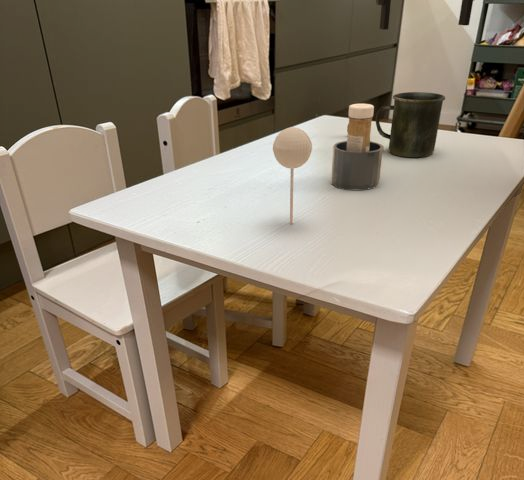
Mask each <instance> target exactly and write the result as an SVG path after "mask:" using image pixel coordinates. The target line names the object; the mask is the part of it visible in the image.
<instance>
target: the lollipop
mask: <svg viewBox="0 0 524 480" xmlns="http://www.w3.org/2000/svg"><path fill="white" fill-rule="evenodd" d="M312 151H313V143H312V140H311V138H310V136H309V135H308V134H307V132H305V130H303V129H301V128H299V127H295V126H293V127H287V128H285V129H283V130H281V131H280V132H279V133H278V134H277V135H276V137H275V139H274V141H273V143H272V153H273V155H274V157H275V160H276V161H277V162H278V164H279V165H281V166H282V167H284V168H286V169H290V188H289V189H290V190H289V191H290V192H289V224H290V225H293V224H294V223H293V222H294V221H293V219H294V173H295V172H294V170H295V169H298V168H301V167H302V166H304V165H305V164H306V163H307V162H308V161H309V159H310V157H311V154H312ZM292 223H293V224H292Z"/></svg>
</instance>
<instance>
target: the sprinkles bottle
mask: <svg viewBox="0 0 524 480" xmlns="http://www.w3.org/2000/svg"><path fill="white" fill-rule="evenodd" d="M374 110H375V106H374V105H373V104H371V103H352V104H350V105H349V106H348V114H347V115H348V124H349V127H348V126H347V127H348V132H347V135H346V136H347V138H346V141H347V149H346V151H349V152H369V147H370V141H371V132H372V120H373V117H374Z"/></svg>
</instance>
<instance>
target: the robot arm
mask: <svg viewBox="0 0 524 480" xmlns="http://www.w3.org/2000/svg"><path fill="white" fill-rule="evenodd" d="M375 3H376V6H380V19H379V29H380V30H385V31H386V30H389V25H390V15H391V14H390V13H391V3H392V0H375ZM473 5H474V0H461V5H460V12H459V19H458V24H457V25H458V26H465V27H466V26H470V21H471V15H472V9H473Z"/></svg>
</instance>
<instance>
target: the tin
mask: <svg viewBox="0 0 524 480" xmlns="http://www.w3.org/2000/svg"><path fill="white" fill-rule="evenodd" d="M346 149H347V140H343V141H339V142H336V143H335V144H334V145H333V147H332V163H331V164H332V165H331V184H332V186H334V185H335V186H334V187H336V186H337V187H336V188H338V187H340V188H339V189H341V188H344V189H343V190H346V189H368V188H372V189H374V188H373V187H375V188H377V187H378V186H379V185H378V184H380V178H381V169H382V161H383V152H384V145H382V144H381V143H378V142H375V141H372V140H370V147H369V152H349V151H346ZM377 185H378V186H377ZM376 186H377V187H376ZM368 190H369V189H368Z"/></svg>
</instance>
